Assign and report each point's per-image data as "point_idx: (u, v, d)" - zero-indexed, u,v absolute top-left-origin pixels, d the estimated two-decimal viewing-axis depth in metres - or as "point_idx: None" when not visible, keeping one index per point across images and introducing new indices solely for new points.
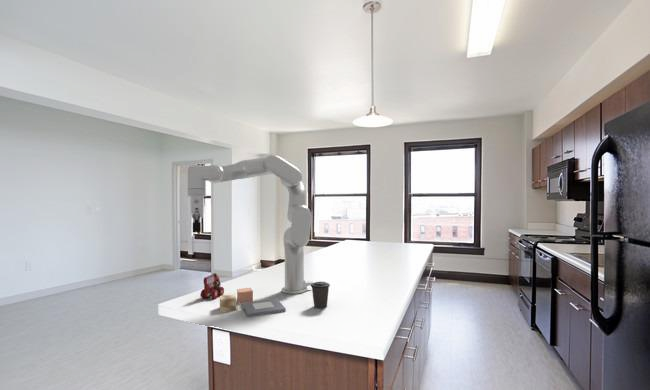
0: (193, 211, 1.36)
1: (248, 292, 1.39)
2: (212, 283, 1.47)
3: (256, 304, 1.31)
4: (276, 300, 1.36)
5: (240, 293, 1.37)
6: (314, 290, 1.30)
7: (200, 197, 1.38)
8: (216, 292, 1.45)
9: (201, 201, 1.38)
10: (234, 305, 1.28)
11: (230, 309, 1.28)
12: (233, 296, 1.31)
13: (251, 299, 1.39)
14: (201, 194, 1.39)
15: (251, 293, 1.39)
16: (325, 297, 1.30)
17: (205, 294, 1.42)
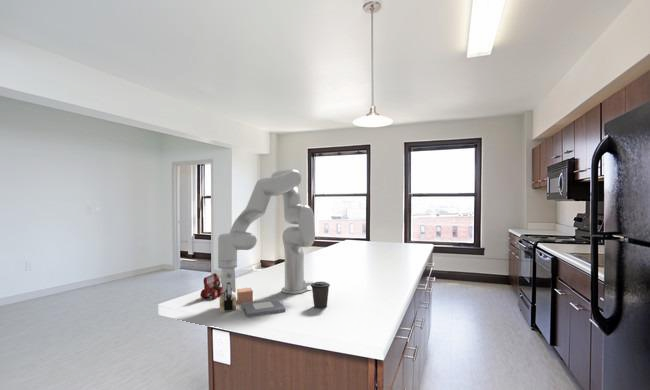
0: (225, 286, 1.25)
1: (248, 292, 1.38)
2: (212, 283, 1.47)
3: (256, 304, 1.31)
4: (276, 300, 1.36)
5: (240, 293, 1.37)
6: (314, 290, 1.30)
7: (232, 270, 1.27)
8: (216, 292, 1.45)
9: (233, 274, 1.27)
10: (234, 305, 1.28)
11: None
12: (233, 296, 1.31)
13: (251, 299, 1.39)
14: (233, 266, 1.29)
15: (251, 293, 1.39)
16: (325, 297, 1.30)
17: (205, 294, 1.42)
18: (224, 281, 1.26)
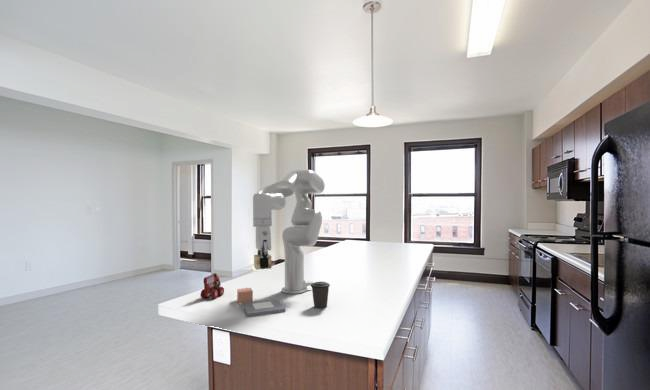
0: (261, 243, 1.26)
1: (248, 292, 1.38)
2: (212, 283, 1.47)
3: (256, 304, 1.31)
4: (276, 300, 1.36)
5: (240, 293, 1.37)
6: (314, 290, 1.30)
7: (268, 228, 1.28)
8: (216, 292, 1.45)
9: (269, 232, 1.28)
10: (269, 263, 1.29)
11: None
12: (268, 255, 1.32)
13: (251, 299, 1.39)
14: (268, 224, 1.29)
15: (251, 293, 1.39)
16: (325, 297, 1.30)
17: (205, 294, 1.42)
18: (260, 238, 1.26)
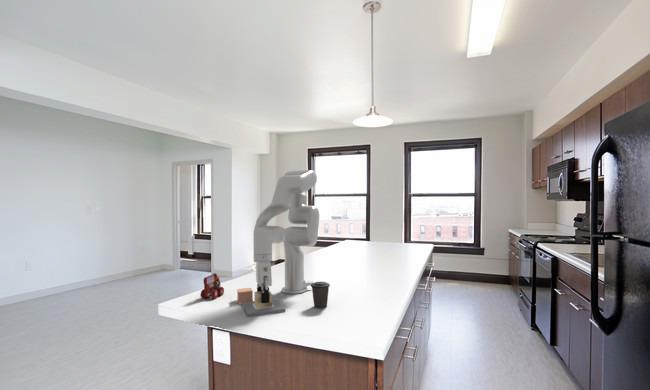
0: (262, 280, 1.26)
1: (248, 292, 1.38)
2: (212, 283, 1.47)
3: None
4: (276, 300, 1.36)
5: (240, 293, 1.37)
6: (314, 290, 1.30)
7: (268, 264, 1.27)
8: (216, 292, 1.45)
9: (269, 268, 1.27)
10: (270, 301, 1.29)
11: (266, 305, 1.28)
12: None
13: (251, 299, 1.39)
14: (269, 260, 1.29)
15: (251, 293, 1.39)
16: (325, 297, 1.30)
17: (205, 294, 1.42)
18: (261, 275, 1.26)
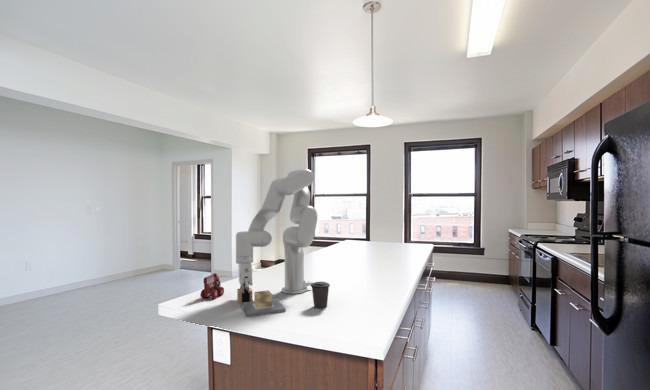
0: (243, 280, 1.36)
1: None
2: (212, 283, 1.47)
3: None
4: (276, 300, 1.36)
5: (239, 293, 1.37)
6: (314, 290, 1.30)
7: (249, 265, 1.38)
8: (216, 292, 1.45)
9: (250, 269, 1.38)
10: (270, 301, 1.29)
11: (266, 305, 1.28)
12: (268, 292, 1.31)
13: (250, 299, 1.39)
14: (250, 261, 1.39)
15: (250, 293, 1.39)
16: (325, 297, 1.30)
17: (205, 294, 1.42)
18: (242, 275, 1.36)
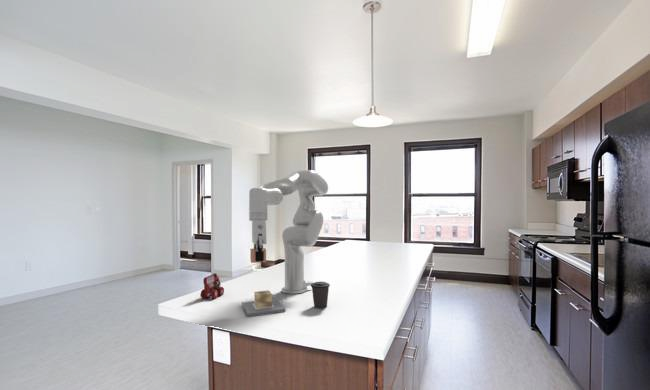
0: (256, 237, 1.28)
1: None
2: (212, 283, 1.47)
3: None
4: (276, 300, 1.36)
5: (253, 251, 1.30)
6: (314, 290, 1.30)
7: (263, 222, 1.30)
8: (216, 292, 1.45)
9: (264, 226, 1.30)
10: (270, 301, 1.29)
11: (266, 305, 1.28)
12: (268, 292, 1.31)
13: (264, 258, 1.31)
14: (264, 219, 1.31)
15: (264, 252, 1.31)
16: (325, 297, 1.30)
17: (205, 294, 1.42)
18: (256, 232, 1.28)
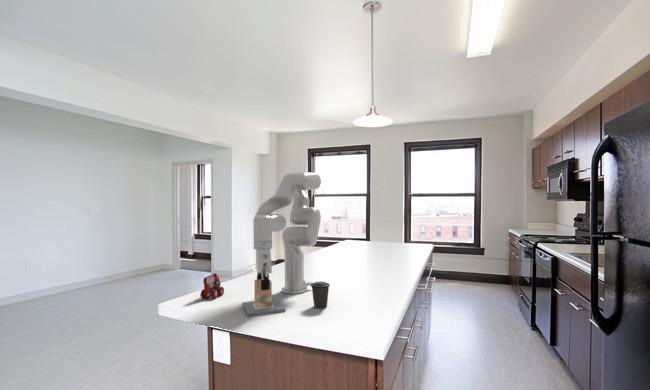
0: (262, 267, 1.26)
1: None
2: (212, 283, 1.47)
3: None
4: (276, 300, 1.36)
5: (258, 284, 1.27)
6: (314, 290, 1.30)
7: (268, 251, 1.27)
8: (216, 292, 1.45)
9: (269, 255, 1.27)
10: (270, 301, 1.29)
11: (266, 305, 1.28)
12: None
13: (270, 290, 1.29)
14: (269, 247, 1.29)
15: (270, 284, 1.29)
16: (325, 297, 1.30)
17: (205, 294, 1.42)
18: (261, 262, 1.26)
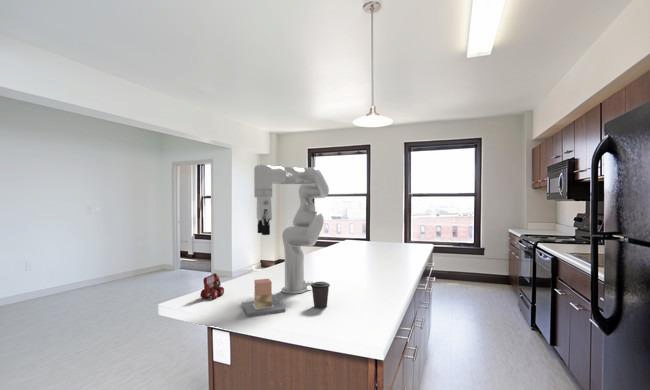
0: (262, 213, 1.30)
1: (266, 283, 1.28)
2: (212, 283, 1.47)
3: None
4: (276, 300, 1.36)
5: (258, 284, 1.27)
6: (314, 290, 1.30)
7: (269, 198, 1.32)
8: (216, 292, 1.45)
9: (270, 202, 1.32)
10: (270, 301, 1.29)
11: (266, 305, 1.28)
12: None
13: (270, 290, 1.29)
14: (269, 195, 1.33)
15: (270, 284, 1.29)
16: (325, 297, 1.30)
17: (205, 294, 1.42)
18: (261, 208, 1.30)
